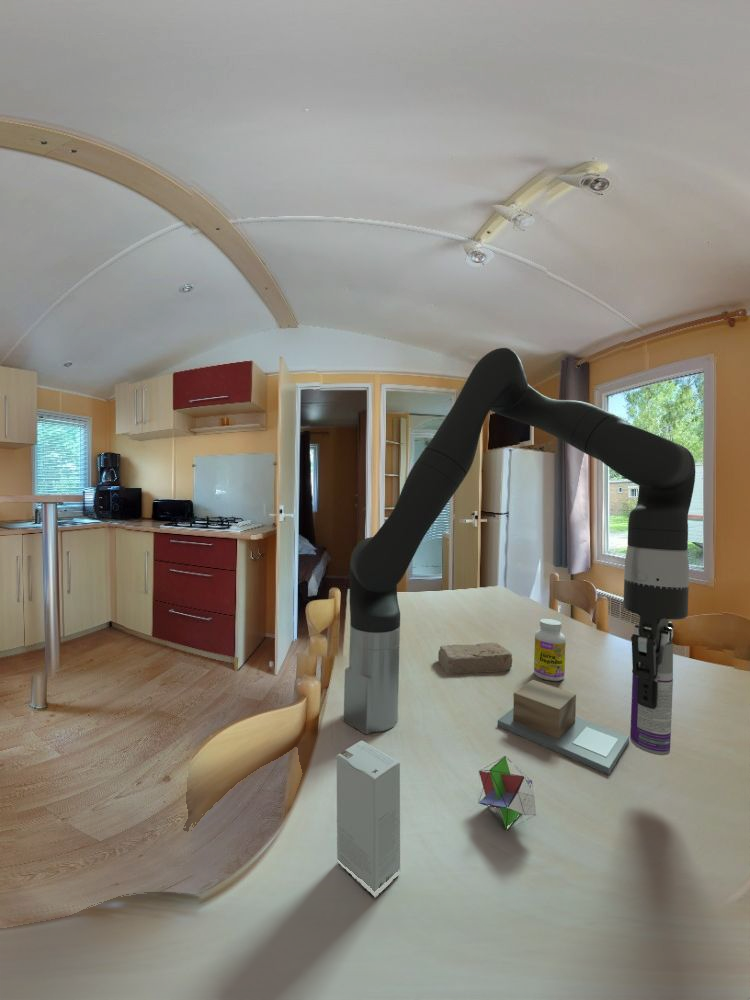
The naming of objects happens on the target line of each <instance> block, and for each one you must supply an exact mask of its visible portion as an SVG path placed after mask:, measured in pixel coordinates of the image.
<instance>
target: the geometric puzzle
mask: <svg viewBox="0 0 750 1000" xmlns="http://www.w3.org/2000/svg"><path fill="white" fill-rule="evenodd" d="M508 761H509V762H511V760H510V759H509V758H508V757H507V755H506V754H505V755H504V756H503V757H501V758H500V759H498V761H497V763H496V761H494V762H493V763H491V764H489V765H487V766H486V767H484V768H483V769H480V770H478V774H479V778H480V780H481V783H482V792H481V793H480V795H479V798H478V802H477V803H478V805H483V806H487V807H488V805H490V806H491V807H490V808H494V807H496V808H495V809H499V808H500V809H499V810H500V812H501V816H502V820H503V824H504V828H505V829H506V830H507V826H508V825H510V824H511V823H512V822H513V821H514V820H515V819H516V818H517V816H518V815H520V814H521V815H523V816H530V817H528V818H527V820H528V819H530V818H532V816H537V813H536V803H535V801H536V800H535V795H534V792H533V790H532V789H531V787H532V788H534V787H533V786H534V785H533V780H532V779H529V777H527V776H526V775H519V774H513V773H511V772H510V768H509V765H508ZM494 763H496V764H494ZM493 764H494V765H493ZM491 765H493V766H492V767H491V768H490V769H485V768H488V767H490V766H491ZM484 769H485V770H484ZM515 769H516V770H517V771H518V772H519V773H520V774H524V772H523V771H521V769H520V768H519V767H518V766H516V767H515ZM483 792H484V794H485V796H484V797H483V798H482V799H481V797H482V795H483ZM521 815H520V816H521ZM517 819H518V818H517ZM517 819H516V820H517ZM522 823H523V821H521V822H520V823H518V825H519V824H522ZM512 828H514V826H512V827H510V828H509V830H511V829H512ZM506 830H505V831H506ZM507 831H508V830H507Z"/></svg>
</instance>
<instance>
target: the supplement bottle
mask: <svg viewBox="0 0 750 1000" xmlns="http://www.w3.org/2000/svg"><path fill="white" fill-rule="evenodd" d="M539 626H540V629H538V630H536V632H535V633H534V652H533V653H534V655H533V656H534V661H533V662H534V663H533V672H534V674H535V676H537V677H538V678H540V679H542V680H546V681H551V682H559V681H563V680H564V678H565V670H566V669H565V668H566V667H565V666H566V640H567V639H566V636H565V635H564V633H562V632H561V630H562V622H561V621H559V620H557V619H551V618H541V619H540V620H539Z"/></svg>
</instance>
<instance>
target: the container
mask: <svg viewBox="0 0 750 1000" xmlns="http://www.w3.org/2000/svg"><path fill="white" fill-rule="evenodd" d="M659 652H660V650H659ZM659 652H658V653H656V657H658V656H659ZM642 668H643V669H647V670H650V666H649V665H648V664H645V663H643V667H642ZM659 676H660V679H659V680H658V699H657V707H656V708H655V709H651V708H648V707H645V706H642V705H640V704H638V702H637V690H638V677H637V676H634V675H633V674H632V679H631V680H632V681H631V682H632V683H631V685H632V686H631V703H630V704H631V706H630V707H631V708H630V709H631V710H630V735H629V741H630V743H631V744H633V745H634V746H635V747H636V748H638V750H641V751H643V752H646V753H648V754H651V755H654V756H655V755H657V756H668V755H669V754H670V752H671V737H672V733H671V732H672V713H673V712H672V708H673V690H674V689H673V686H674V685H673V683H674V642H673V641H669V643H668V644H667V645H666V655H665V663H664V664H663V665H661V666H660V671H659Z"/></svg>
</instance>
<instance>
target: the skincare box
mask: <svg viewBox="0 0 750 1000" xmlns="http://www.w3.org/2000/svg"><path fill="white" fill-rule="evenodd" d="M335 759H336V836H337V837H336V840H337V841H336V859H338V860H339V861H340V862H341V863H342V864H343V865H344V866H345V867H347V868H348V869H349V870H350V871H352V872H353V873H354V874H355V875H356V876H357V877H358V878H360V879H362V880H363V881H364V882H365V883H366V884H367V885H368V886H370V888H372V890H373V891H374V892H375V891H376V890H377V889H378V888H380V887H381V886H382V885H383V884H384V883H385V882H387V881H388V880H389V879H390V878H391V877H392V876H393V875H394V874H395V873H396V872H398V870H399V869H400V870H401V780H400V779H401V763H400V761H398V760H396V759H395V758H393V757H391V756H390V755H387V754H386V753H384V752H383V751H381V750H379V749H378V748H375V746H373V745H371V744H370V743H367V742H365V741H364V740H359V741H358V742H355V744H353V745H351V746H350V747H348V748H346V749H345V750H343V751H342V752H340V753H338V754H337V755H336V758H335Z"/></svg>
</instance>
